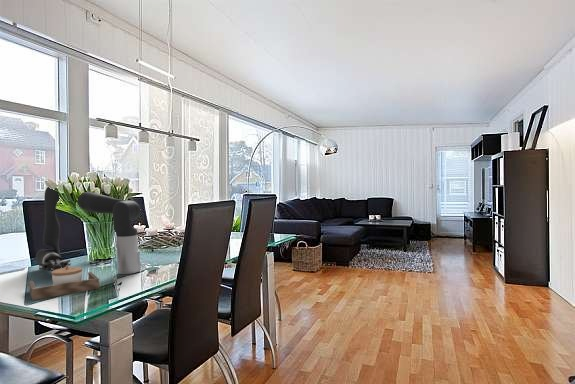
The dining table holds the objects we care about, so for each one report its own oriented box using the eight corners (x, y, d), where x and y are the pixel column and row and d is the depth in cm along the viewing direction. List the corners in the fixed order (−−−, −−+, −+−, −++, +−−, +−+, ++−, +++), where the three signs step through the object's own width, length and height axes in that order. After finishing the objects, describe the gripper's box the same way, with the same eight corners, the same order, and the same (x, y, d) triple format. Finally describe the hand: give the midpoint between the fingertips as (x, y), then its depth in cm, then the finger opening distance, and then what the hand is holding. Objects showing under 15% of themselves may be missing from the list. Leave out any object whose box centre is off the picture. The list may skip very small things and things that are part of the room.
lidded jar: (56, 286, 163) (55, 264, 163) (85, 284, 166) (84, 261, 166) (48, 294, 153) (47, 269, 152) (79, 291, 156) (78, 267, 155)
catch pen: (91, 281, 171) (91, 271, 171) (99, 288, 159) (98, 278, 159) (29, 291, 158) (28, 281, 157) (32, 300, 145) (32, 289, 145)
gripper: (35, 255, 181) (39, 261, 168) (68, 251, 189) (74, 257, 175) (36, 271, 182) (40, 279, 168) (68, 267, 190) (75, 273, 176)
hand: (57, 267), depth 172 cm, fingers closed
